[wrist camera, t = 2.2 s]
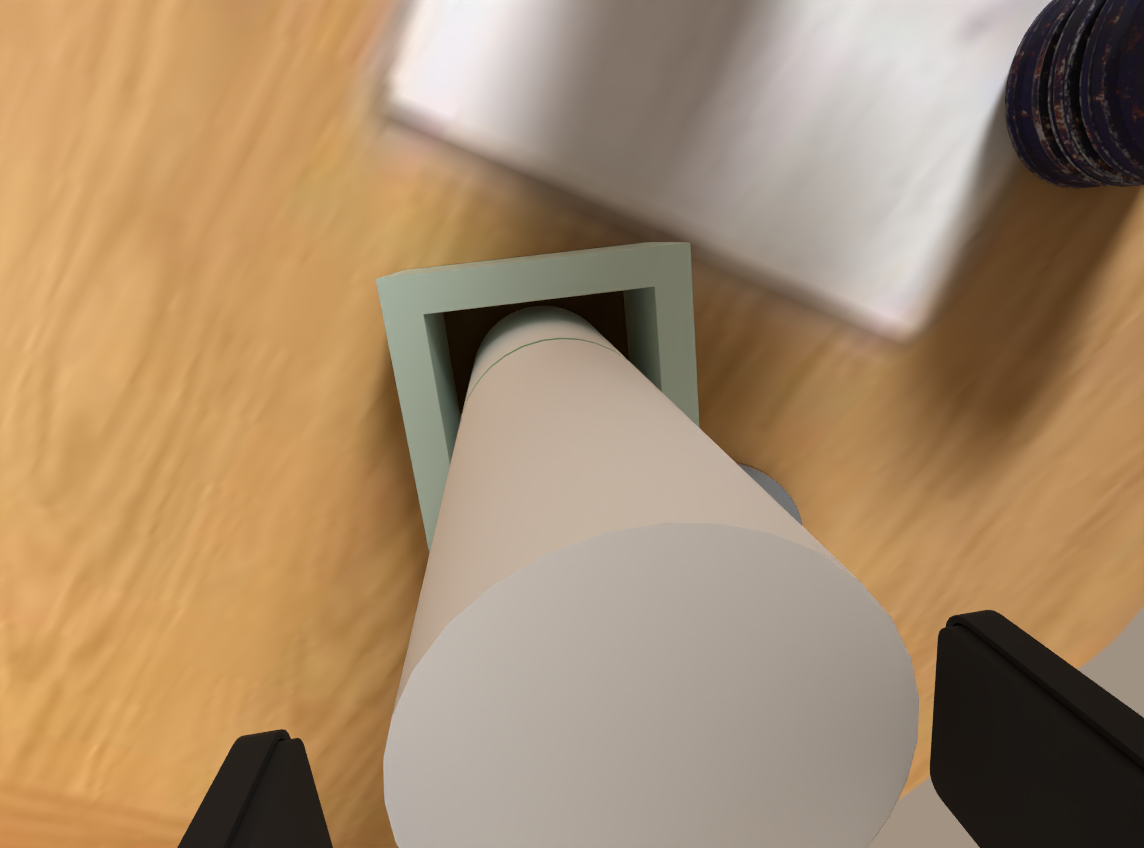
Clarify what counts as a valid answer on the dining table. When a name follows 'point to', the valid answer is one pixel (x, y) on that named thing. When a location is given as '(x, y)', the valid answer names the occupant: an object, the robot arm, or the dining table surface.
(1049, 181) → the storage jar
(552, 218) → the dining table surface
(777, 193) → the dining table surface
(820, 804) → the cylindrical container
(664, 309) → the collar
